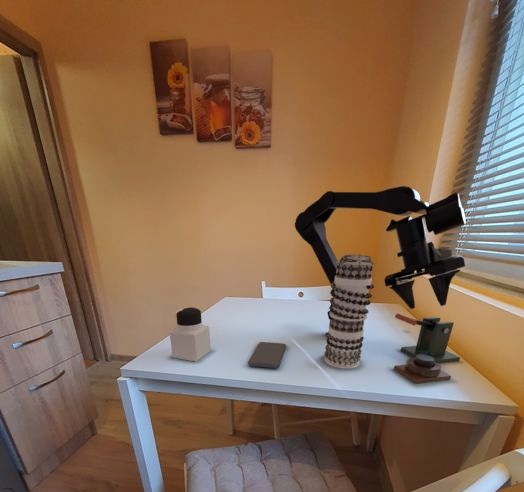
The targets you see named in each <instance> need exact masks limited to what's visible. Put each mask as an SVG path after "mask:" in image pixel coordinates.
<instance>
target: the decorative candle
mask: <svg viewBox="0 0 524 492" xmlns="http://www.w3.org/2000/svg"><path fill="white" fill-rule="evenodd" d="M336 263H337V270H336V276H335V281H334V282H333V283H331V284H330V288H331V290H330V291H329V294H330V296H331V298H330V300H329V304H330V305H329V307H328V310H329V311H331V312H330V316H331V322H330V321H329V323H330V325H328V333H327V332H326V333H327V335H326V337H327V339H326V340H325V341H326V345H325V347H324V349H325V351H324V361H325V363H326V364H328V365H330V366H331V367H334V368H339V369H353V368H356V367H358V366H359V365H360V361H361V354H362V352H363V351H362V349H361V348H362V347H363V345H364V344H363V341H364V340H365V339H364V326H365V320H367V319H368V314H369V309H367V306H370V305H371V304H372V303H371V301H370V300H369V299H371V298H373V295H372V294H371V293H370V292H369V291H370V290H372V289H374V288H375V285H374V284H373V283H372V282H373V277H372V275H373V268H374V265H376V263H374V262H373V260H372V257H370V256H369V255H366V254H344V255H342V256H341V257H340V259H338V262H336Z"/></svg>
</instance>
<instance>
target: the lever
mask: <svg viewBox="0 0 524 492" xmlns="http://www.w3.org/2000/svg"><path fill="white" fill-rule="evenodd" d="M394 316H395V317H394V318H395V319H397V320H400V321H401V322H404V323H407V324H409V325H411V326H420V327H421V326H425V327H428V328H427V329H428V330H430V331H432V332H433V331H434V328H435V324H436V323H437V322H436V321H432V320H431V322H430V323H427V322H423V320H419V319H417V318H416V319H415V318H411V317H408V316H405V315H403V314H400V313H396V314H395V315H394Z"/></svg>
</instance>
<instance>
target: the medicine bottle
mask: <svg viewBox="0 0 524 492" xmlns="http://www.w3.org/2000/svg"><path fill="white" fill-rule="evenodd" d="M174 313H175V324H176V327H174V328H173V329H170V330H169V341H170V347H171V355H172V358H174V359H179V360H183V361H184V360H185V361H190V362H195V363H197V362H198V361H200V360H201V359H203V358H204V357H205V356H206V355H208V354H209V353H210V352H211V351H212V348H211V334H210V333H211V332H210V326H209V325H203V321H202V310H200V309H199V308H197V307H192V306H191V307H182V308H179V309H177V310H176V311H175V312H174Z"/></svg>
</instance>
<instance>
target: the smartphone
mask: <svg viewBox="0 0 524 492" xmlns="http://www.w3.org/2000/svg"><path fill="white" fill-rule="evenodd" d="M286 347H287V344H286V343H281V342H271V341H260V342H259V343H258V345H257V346H256V348H255V349H254V351H253V352H252V355H251V356H250V358H249V359H248V361H247V365H248V366H250V367H258V368H259V367H262V368H271V369H278V368H280V365H281V362H282V359H283V356H284V353H285V351H286Z"/></svg>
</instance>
